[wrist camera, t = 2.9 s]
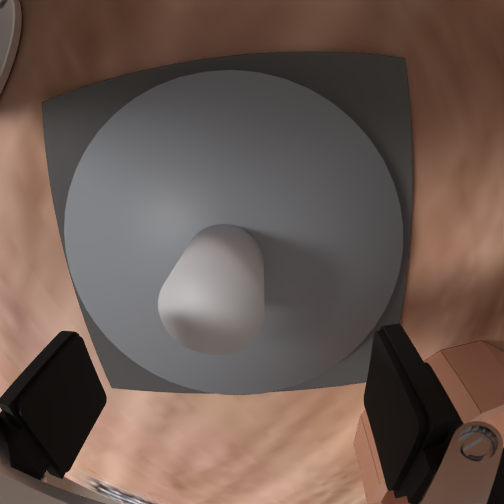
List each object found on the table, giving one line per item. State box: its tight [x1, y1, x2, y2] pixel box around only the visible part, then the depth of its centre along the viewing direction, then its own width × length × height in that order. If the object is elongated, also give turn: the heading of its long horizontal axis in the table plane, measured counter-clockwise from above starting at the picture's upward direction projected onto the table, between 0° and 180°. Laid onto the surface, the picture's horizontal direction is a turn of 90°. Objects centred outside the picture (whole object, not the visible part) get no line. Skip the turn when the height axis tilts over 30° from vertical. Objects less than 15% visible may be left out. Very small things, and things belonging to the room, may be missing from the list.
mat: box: [42, 52, 413, 393], centre depth 18 cm, size 21×21×1 cm
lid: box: [64, 70, 403, 395], centre depth 14 cm, size 19×19×6 cm
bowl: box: [354, 341, 504, 504], centre depth 19 cm, size 16×16×7 cm
